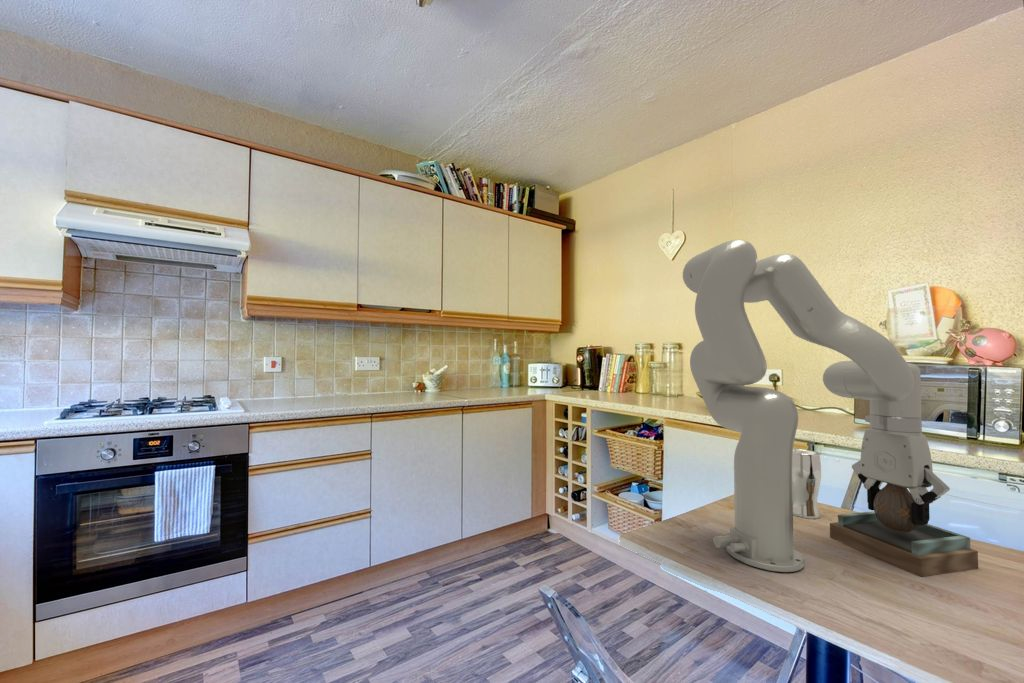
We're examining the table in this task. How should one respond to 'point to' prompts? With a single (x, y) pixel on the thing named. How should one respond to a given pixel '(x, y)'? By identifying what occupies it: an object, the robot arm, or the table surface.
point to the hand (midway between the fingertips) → (896, 515)
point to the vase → (894, 508)
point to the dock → (906, 544)
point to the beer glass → (806, 483)
